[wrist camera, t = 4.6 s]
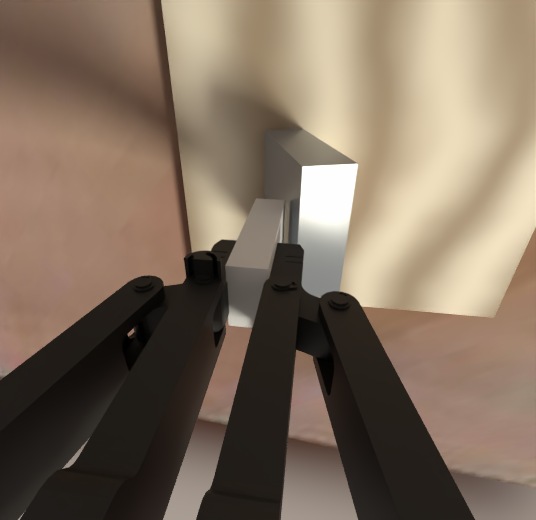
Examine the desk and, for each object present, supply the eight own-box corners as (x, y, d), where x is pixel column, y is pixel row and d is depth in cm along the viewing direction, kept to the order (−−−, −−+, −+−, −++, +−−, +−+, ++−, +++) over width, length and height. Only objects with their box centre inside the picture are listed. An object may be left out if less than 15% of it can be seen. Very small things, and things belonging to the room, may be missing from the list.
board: (200, 284, 30) (196, 292, 29) (169, 2, 20) (161, -1, 19) (487, 307, 28) (493, 317, 27) (621, 0, 17) (640, -3, 16)
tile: (263, 232, 25) (294, 300, 18) (264, 129, 21) (302, 166, 14) (302, 229, 25) (346, 293, 18) (309, 128, 21) (366, 163, 15)
